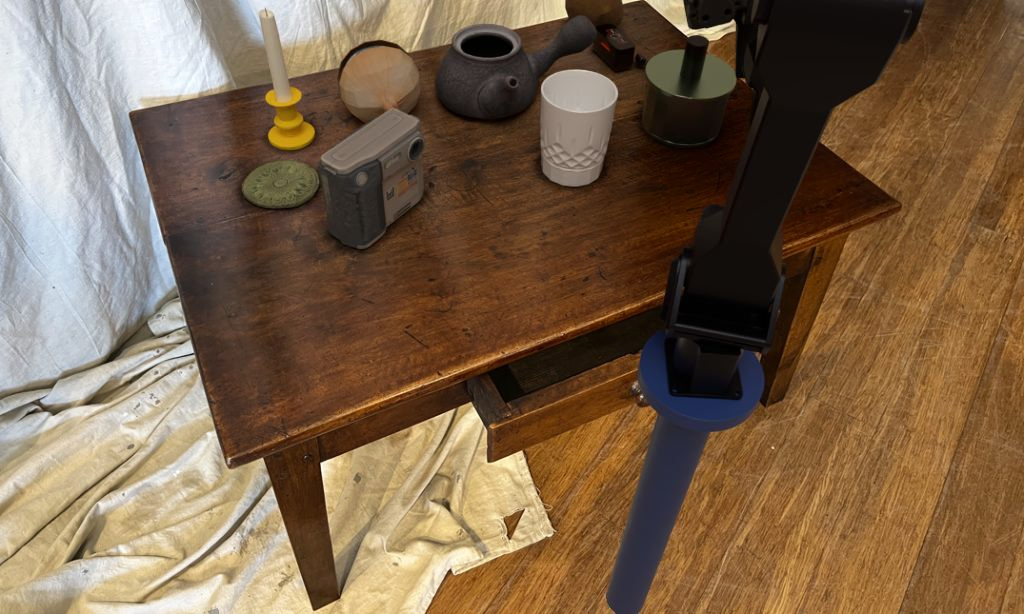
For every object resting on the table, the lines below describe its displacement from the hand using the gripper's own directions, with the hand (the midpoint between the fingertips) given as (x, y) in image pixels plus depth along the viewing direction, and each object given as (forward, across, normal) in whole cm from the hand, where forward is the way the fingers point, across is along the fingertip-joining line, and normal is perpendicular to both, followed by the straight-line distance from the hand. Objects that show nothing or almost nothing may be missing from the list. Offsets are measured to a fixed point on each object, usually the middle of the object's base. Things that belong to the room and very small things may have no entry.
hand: (747, 103), depth 77 cm
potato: (+7, -36, -10) cm, 38 cm away
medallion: (+12, +2, -47) cm, 49 cm away
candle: (+12, -7, -48) cm, 50 cm away
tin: (+12, -14, -3) cm, 18 cm away
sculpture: (+12, -11, -38) cm, 41 cm away
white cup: (+12, -4, -16) cm, 21 cm away
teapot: (+12, -17, -23) cm, 31 cm away
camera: (+12, +6, -36) cm, 38 cm away
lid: (+6, -13, -3) cm, 15 cm away
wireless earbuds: (+12, -27, -10) cm, 31 cm away
